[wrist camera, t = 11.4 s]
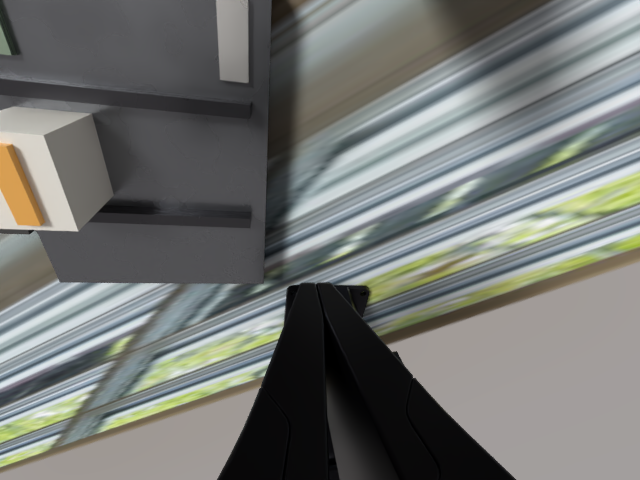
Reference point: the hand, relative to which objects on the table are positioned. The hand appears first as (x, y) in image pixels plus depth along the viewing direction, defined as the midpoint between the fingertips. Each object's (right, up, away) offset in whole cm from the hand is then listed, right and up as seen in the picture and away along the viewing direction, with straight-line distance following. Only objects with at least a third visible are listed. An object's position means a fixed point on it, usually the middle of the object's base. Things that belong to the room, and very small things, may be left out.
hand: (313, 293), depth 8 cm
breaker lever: (-12, +5, +6) cm, 14 cm away
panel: (-9, +6, +8) cm, 14 cm away
